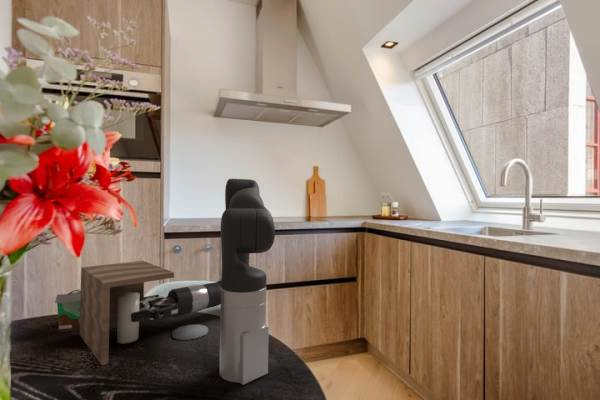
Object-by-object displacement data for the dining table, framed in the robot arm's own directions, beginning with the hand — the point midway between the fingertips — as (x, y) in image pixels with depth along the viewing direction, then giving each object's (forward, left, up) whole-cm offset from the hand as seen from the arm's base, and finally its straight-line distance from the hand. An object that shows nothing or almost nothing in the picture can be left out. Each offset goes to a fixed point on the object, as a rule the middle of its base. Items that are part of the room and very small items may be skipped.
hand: (126, 313), depth 79 cm
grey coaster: (-7, -14, -7) cm, 17 cm away
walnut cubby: (0, 0, -7) cm, 7 cm away
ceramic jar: (0, 0, -7) cm, 7 cm away
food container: (+18, +6, -7) cm, 20 cm away
